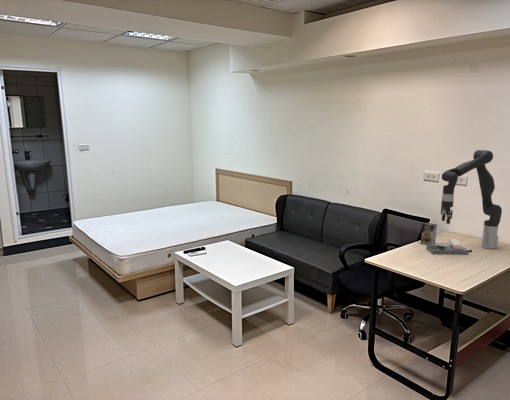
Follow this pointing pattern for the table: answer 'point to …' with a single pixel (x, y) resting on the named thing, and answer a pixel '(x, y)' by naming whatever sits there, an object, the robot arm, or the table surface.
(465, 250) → the rocker switch panel
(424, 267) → the table surface
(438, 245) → the block
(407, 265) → the table surface
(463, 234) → the table surface
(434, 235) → the coffee box
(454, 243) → the rocker
